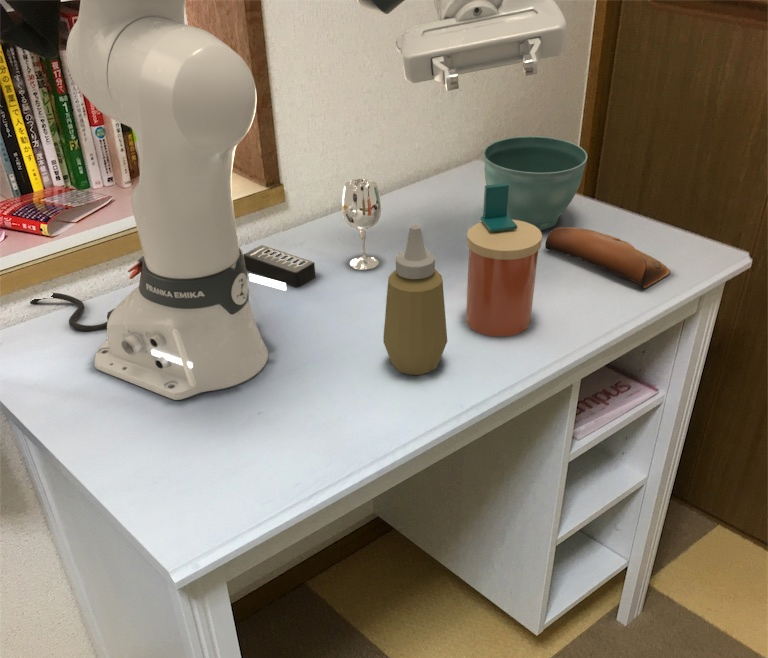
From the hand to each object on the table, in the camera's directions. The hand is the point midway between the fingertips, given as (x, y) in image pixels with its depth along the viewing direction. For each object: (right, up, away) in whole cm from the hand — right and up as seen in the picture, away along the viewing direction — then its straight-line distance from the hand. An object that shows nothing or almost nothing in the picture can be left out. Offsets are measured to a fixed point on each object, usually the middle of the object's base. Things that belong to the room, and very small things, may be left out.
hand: (491, 76), depth 97 cm
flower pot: (+11, -4, +38) cm, 40 cm away
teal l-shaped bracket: (+2, -15, +8) cm, 17 cm away
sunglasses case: (+21, -14, +26) cm, 37 cm away
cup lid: (+3, -17, +7) cm, 19 cm away
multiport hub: (-29, -16, +27) cm, 42 cm away
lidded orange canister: (+3, -26, +15) cm, 30 cm away
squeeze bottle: (-9, -33, +7) cm, 35 cm away
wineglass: (-16, -14, +28) cm, 35 cm away
